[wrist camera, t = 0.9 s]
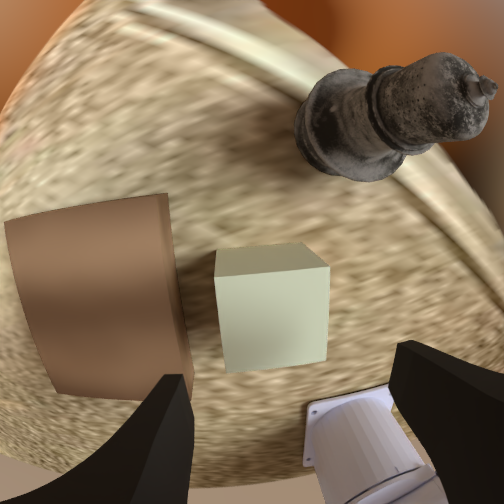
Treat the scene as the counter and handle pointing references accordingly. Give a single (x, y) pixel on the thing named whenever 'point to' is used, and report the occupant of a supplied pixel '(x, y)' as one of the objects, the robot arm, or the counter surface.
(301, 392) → the counter surface
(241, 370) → the sage block
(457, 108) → the grey stone chess piece
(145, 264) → the walnut block
